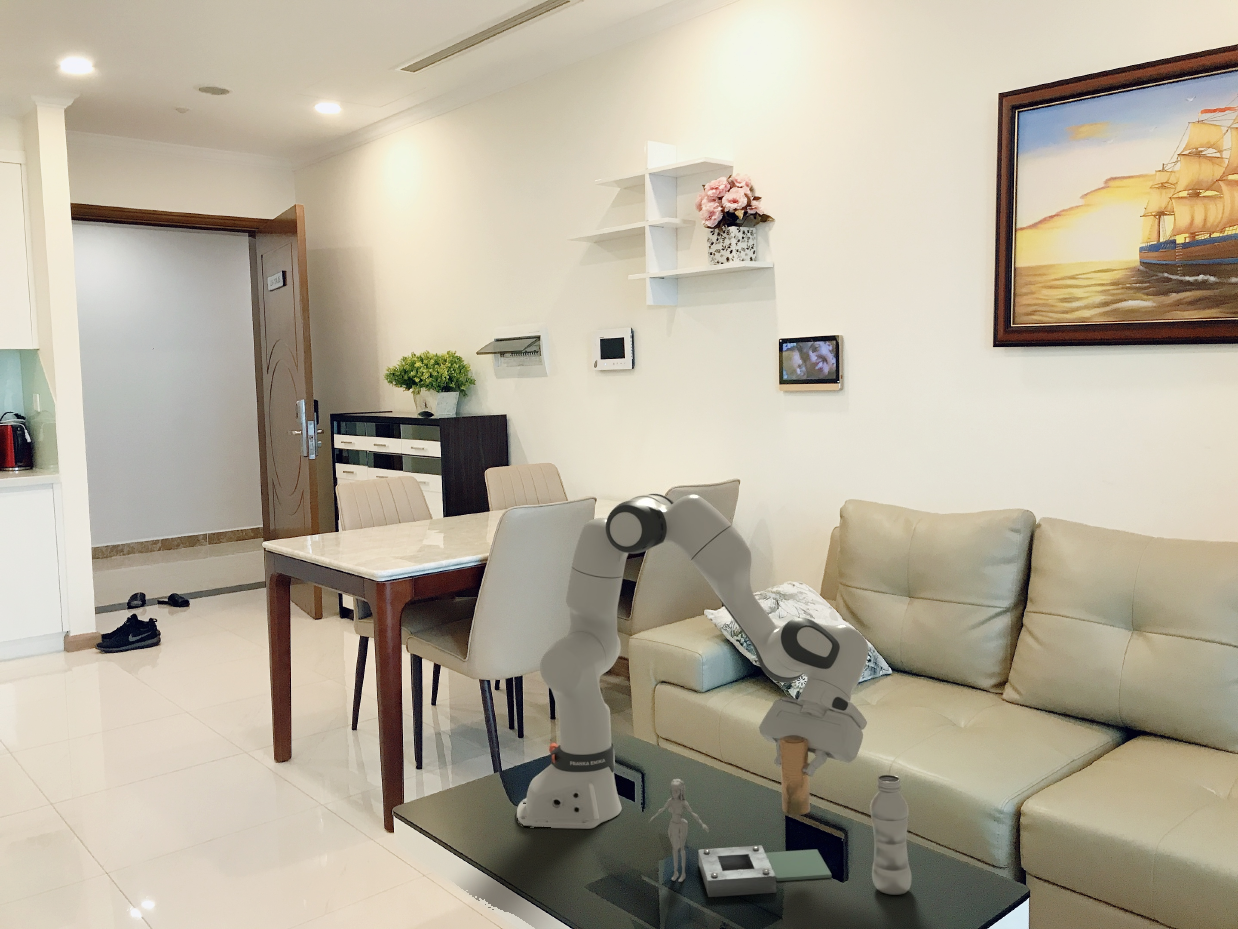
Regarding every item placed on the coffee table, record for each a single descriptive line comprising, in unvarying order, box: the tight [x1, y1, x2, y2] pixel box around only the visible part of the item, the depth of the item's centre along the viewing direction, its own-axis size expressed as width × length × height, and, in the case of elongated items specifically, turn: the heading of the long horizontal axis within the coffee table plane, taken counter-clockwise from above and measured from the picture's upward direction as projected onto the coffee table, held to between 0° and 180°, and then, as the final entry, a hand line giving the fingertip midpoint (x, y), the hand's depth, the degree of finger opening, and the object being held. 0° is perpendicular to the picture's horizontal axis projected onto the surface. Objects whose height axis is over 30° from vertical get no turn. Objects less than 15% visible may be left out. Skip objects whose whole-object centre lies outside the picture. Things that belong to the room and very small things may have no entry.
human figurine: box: [647, 778, 710, 883], centre depth 176 cm, size 12×4×18 cm, turn 63°
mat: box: [765, 848, 832, 882], centre depth 179 cm, size 10×10×1 cm
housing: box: [697, 845, 777, 898], centre depth 175 cm, size 12×12×3 cm
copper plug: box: [780, 735, 811, 816], centre depth 178 cm, size 5×5×13 cm
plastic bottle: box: [869, 774, 913, 896], centre depth 168 cm, size 6×7×20 cm
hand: (792, 770), depth 177 cm, fingers closed on copper plug, 5 cm apart
